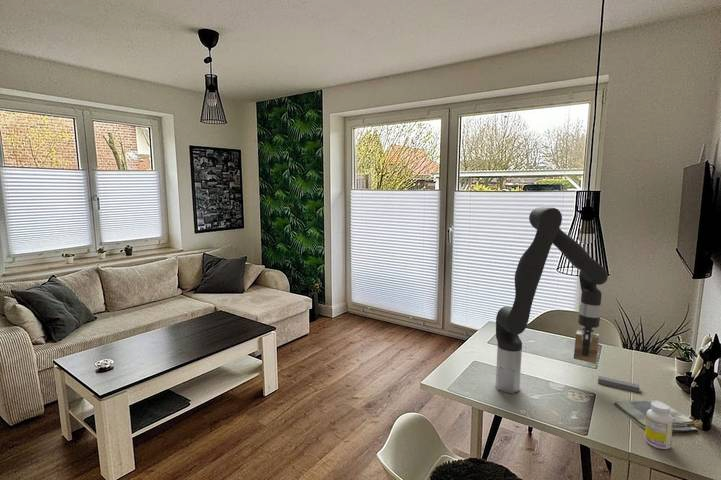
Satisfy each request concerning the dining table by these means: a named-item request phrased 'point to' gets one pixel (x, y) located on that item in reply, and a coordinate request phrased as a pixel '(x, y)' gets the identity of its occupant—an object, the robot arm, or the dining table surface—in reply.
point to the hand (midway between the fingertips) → (585, 353)
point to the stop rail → (618, 384)
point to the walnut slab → (592, 349)
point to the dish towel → (640, 408)
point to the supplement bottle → (659, 426)
